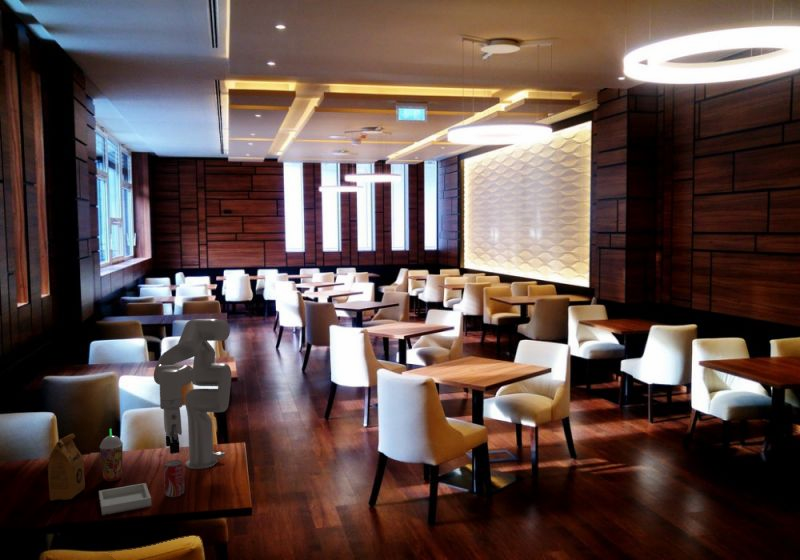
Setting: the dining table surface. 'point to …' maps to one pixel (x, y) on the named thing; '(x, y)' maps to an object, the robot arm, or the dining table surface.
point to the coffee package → (65, 470)
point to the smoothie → (111, 457)
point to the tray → (124, 498)
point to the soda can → (174, 478)
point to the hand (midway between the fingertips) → (172, 449)
